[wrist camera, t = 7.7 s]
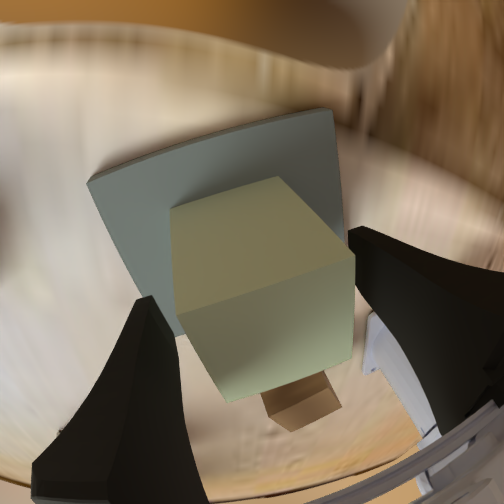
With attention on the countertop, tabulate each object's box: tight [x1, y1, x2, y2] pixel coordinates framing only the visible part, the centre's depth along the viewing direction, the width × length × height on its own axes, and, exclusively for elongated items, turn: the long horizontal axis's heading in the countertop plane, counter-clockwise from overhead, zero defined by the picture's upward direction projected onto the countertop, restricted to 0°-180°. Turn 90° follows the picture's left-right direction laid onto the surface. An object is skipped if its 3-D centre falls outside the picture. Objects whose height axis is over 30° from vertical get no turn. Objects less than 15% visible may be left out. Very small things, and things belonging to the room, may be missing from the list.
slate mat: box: [86, 107, 345, 337], centre depth 14 cm, size 10×9×1 cm
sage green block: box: [170, 176, 355, 403], centre depth 11 cm, size 4×4×6 cm
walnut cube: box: [260, 370, 342, 432], centre depth 19 cm, size 4×4×4 cm
